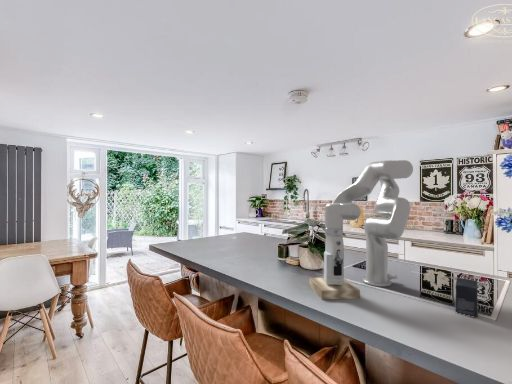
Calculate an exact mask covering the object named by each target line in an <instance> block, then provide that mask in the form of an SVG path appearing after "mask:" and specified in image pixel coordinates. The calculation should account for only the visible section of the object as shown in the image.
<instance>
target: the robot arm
mask: <svg viewBox="0 0 512 384" xmlns="http://www.w3.org/2000/svg"><path fill="white" fill-rule="evenodd" d="M413 172H414V167H413V164H412V163H411V162H410V161H409V160H405V159H404V160H402V159H401V160H379V161H371V162H369V163H368V164H367V165H366V166H365V167H364V168H363V170H362V172H361V173H360V174H359V176H358V178H357V179H355V182H354V183H352V184H351V185H349V186H348V187H346V188H345V189H344V190H342V191H341V192H339V193H338V194H337V196H336V197H335V198H334V199H333V201H332V202H331V203H326V205H324V206H325V207H324V236H325V242H324V243H325V244H324V247H325V248H324V249H325V251H326V252H328V253H329V254H331V255H332V259H333V260H334V264H335V266H334V275H335V276H341V275H342V263H343V259H344V260H345V248H344V239H343V235H344V226H343V225H344V220H345V221H356V220H358V219H359V218H360V216H361V214H362V210H361V208H360V206H359V205H357V204H355V203H352V202H353V201H356V200H358V199H362V198H365V197H367V196H369V195H370V194H371V193H372V192H373V191H374V189H375V187H376V186H377V184H378V183H379V182H380V190H379V193H378V196H377V198H376V200H375V204H374V207H373V210H374V213H375V214H376V215H377V216H370V217H368V218H367V219H365V221H364V224H363V229H364V233H365V241H366V242H365V276H364V277H362V279H361V280H362V282H363V283H365V284H366V285H370V286H375V287H381V288H382V287H383V288H384V287H390V286H391V285H392V281H391V280H397V279H398V275H397V274H391V273H388V271H389V270H388V269H389V268H388V267H389V266H388V263H389V262H388V261H389V260H388V259H389V258H388V257H389V254H388V253H389V247H388V243H387V239H388V240H398V239H400V238H401V237H402V235H403V234H404V231H405V228H406V225H407V223H408V220H409V217H410V215H411V204H410V202H409V200H408V199H407V198H405V197H401V196H399V194H400V187H399V185H398V184H397V182H396V181H395V180H400V179H407V178H409V177H411V175H412V174H413ZM336 255H338V257H339V258H335V257H336ZM336 260H339V261H337V262H336Z"/></svg>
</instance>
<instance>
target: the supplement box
mask: <svg viewBox="0 0 512 384" xmlns="http://www.w3.org/2000/svg"><path fill="white" fill-rule="evenodd" d="M335 258H339V257H338V255H336V257H335ZM344 260H345V258H344V259H343V263H342V275H341V276H335V275H334V266H335V264H334V260H333V259H332V255H331V254H329V253H328V252H326V251H324V252H323V278H324V280H325V282H326V284H333V285H344V279H345V270H344V266H345V264H344V263H345V261H344ZM337 261H339V260H336V262H337Z"/></svg>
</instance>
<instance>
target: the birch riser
mask: <svg viewBox="0 0 512 384" xmlns="http://www.w3.org/2000/svg"><path fill="white" fill-rule="evenodd" d="M308 281H309V285H308V286H309V287H310V288H311V289H312V290H313V291H314V293H315V294H316V295H317V296H318V297H319V298H320V300H343V299H345V300H346V299H350V300H351V299H360V298H361V296H360V295H361V291H360V290H361V289H359V288H358V287H357V286H355V284H353V283H351V282H350V281H349V280H347V279H345V278H344V285H333V284H326V282H325V280H324V277H309V280H308Z"/></svg>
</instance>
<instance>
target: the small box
mask: <svg viewBox="0 0 512 384" xmlns="http://www.w3.org/2000/svg"><path fill="white" fill-rule="evenodd" d="M454 289H455V290H454V294H455V295H454V299H455V301H454V304H455V313H456V312H457V313H456V314H459V313H461V314H460V315H463V314H465V315H464V316H467V315H470V316H469V317H471V316H474V317H473V318H476V317H478V315H479V314H478V313H479V311H478V309H479V308H478V307H479V306H478V302H479V300H478V280H474V279H467V278H462V277H461V278H460V277H456V282H455V287H454ZM478 318H479V317H478Z"/></svg>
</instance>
